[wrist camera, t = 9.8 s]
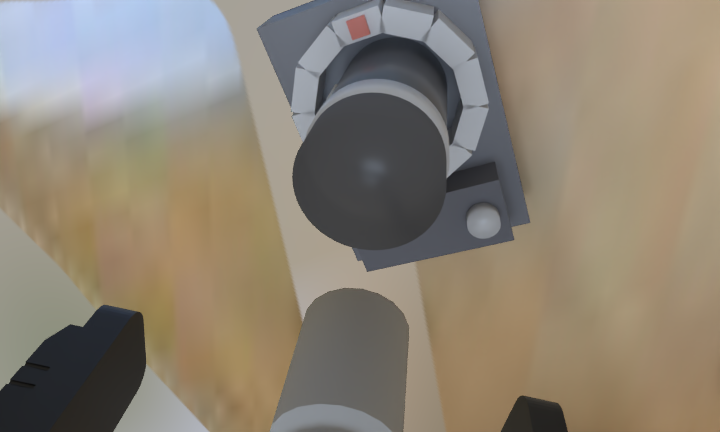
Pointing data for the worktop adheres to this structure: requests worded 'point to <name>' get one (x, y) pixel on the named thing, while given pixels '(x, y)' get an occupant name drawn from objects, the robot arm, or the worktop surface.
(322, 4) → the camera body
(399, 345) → the can
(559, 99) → the worktop surface
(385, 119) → the lens
